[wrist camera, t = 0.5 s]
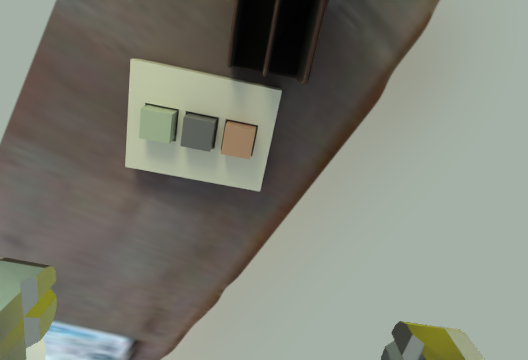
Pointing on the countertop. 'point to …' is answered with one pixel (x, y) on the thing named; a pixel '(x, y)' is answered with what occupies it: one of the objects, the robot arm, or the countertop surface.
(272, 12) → the letter holder
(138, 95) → the cream key base
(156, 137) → the sage key
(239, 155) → the terracotta key
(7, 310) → the robot arm
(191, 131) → the charcoal key
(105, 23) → the countertop surface
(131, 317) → the countertop surface
